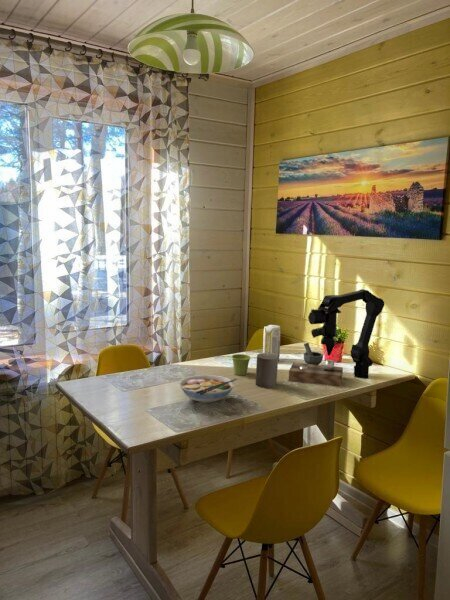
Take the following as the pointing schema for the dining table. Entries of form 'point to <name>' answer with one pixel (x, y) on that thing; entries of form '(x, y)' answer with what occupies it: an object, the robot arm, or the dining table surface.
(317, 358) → the mortar and pestle
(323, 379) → the walnut block
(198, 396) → the ramen bowl
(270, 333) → the juice carton
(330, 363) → the peg near
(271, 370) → the pillar candle
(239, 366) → the plant pot
